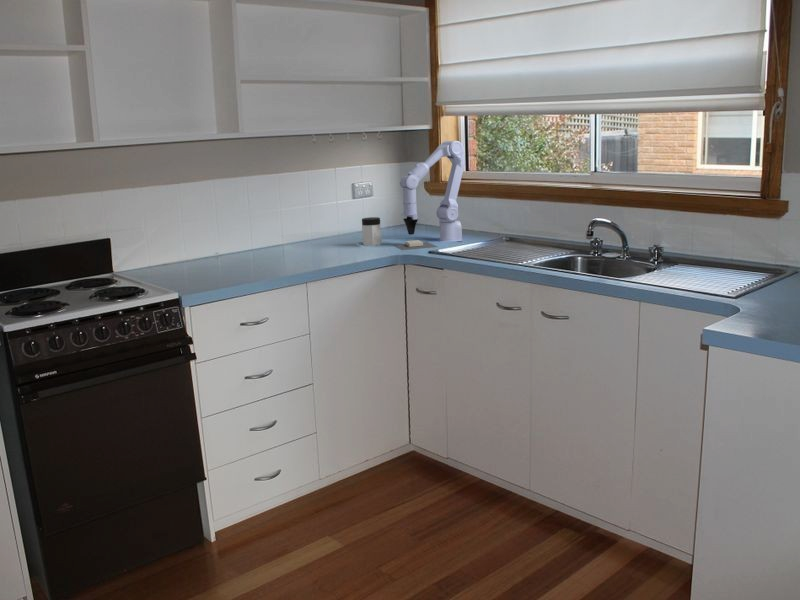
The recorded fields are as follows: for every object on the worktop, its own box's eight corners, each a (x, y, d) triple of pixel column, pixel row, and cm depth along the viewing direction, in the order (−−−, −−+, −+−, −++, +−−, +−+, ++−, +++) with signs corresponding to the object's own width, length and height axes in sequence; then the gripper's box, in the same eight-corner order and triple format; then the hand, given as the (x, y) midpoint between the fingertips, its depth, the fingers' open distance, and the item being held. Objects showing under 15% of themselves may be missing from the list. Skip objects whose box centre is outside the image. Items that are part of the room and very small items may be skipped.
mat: (426, 243, 357) (426, 241, 357) (438, 248, 342) (438, 246, 342) (392, 246, 353) (392, 244, 353) (402, 251, 338) (402, 250, 338)
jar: (369, 247, 353) (367, 220, 350) (358, 245, 359) (357, 218, 357) (385, 244, 358) (384, 217, 355) (375, 243, 364) (374, 216, 362)
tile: (418, 240, 352) (423, 242, 345) (418, 243, 352) (423, 246, 346) (405, 241, 350) (409, 243, 344) (405, 245, 351) (409, 247, 344)
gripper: (396, 202, 353) (397, 233, 356) (405, 205, 340) (407, 237, 343) (411, 201, 355) (413, 231, 358) (421, 204, 342) (423, 235, 345)
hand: (411, 234), depth 351 cm, fingers closed
